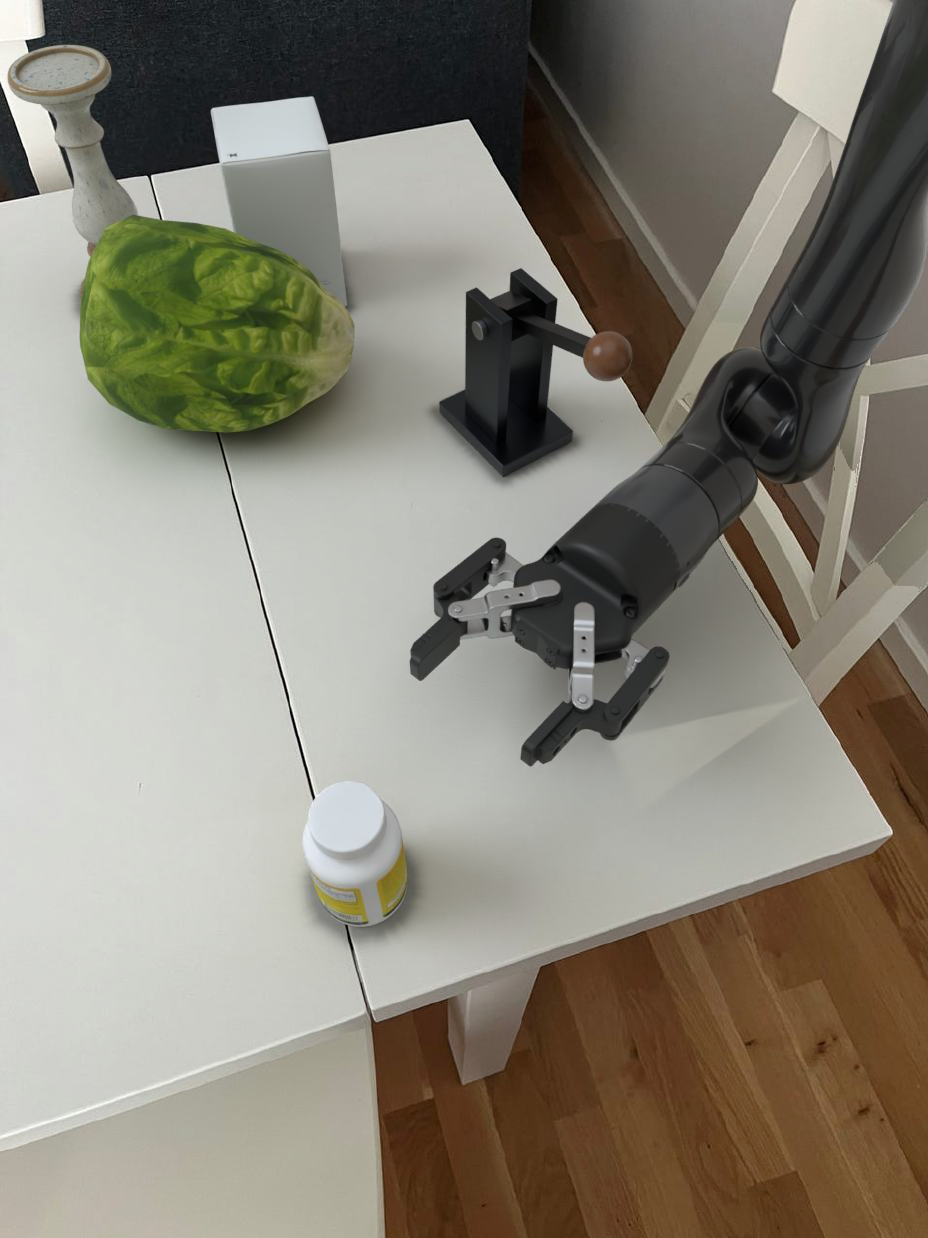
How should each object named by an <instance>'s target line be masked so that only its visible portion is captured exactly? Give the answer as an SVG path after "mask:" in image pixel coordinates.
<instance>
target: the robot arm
mask: <svg viewBox="0 0 928 1238" xmlns="http://www.w3.org/2000/svg"><path fill="white" fill-rule="evenodd" d="M855 109H856V110H855V112H854V115H853V118H852V122H851V124H850V128H849V130H848V134H847V137H846V141H845V144H844V146H843V150H842V153H841V156H840V157H839V158H840V159H839V161H838V165H837V167H836V170H835V173H834V176H833V179H832V182H831V184H830V185H831V186H830V187H829V190H828V193H827V196H826V198H825V199H826V200H824V204H823V205H822V208H821V211H820V213H819V215H818V217H817V220H816V222H815V224H814V226H813V228H812V230H811V232H810V234H809V236H808V238H807V241H806V243H804V246H803V248H802V249H801V252H800V254H799V256H798V257H797V258H796V261H795V262H794V265H793V267H792V268H791V269H790V272H789V273H788V275H787V278H786V279H785V281H784V282H783V285H782V287H781V289H780V290H779V292H778V294H777V295H776V297H775V299H774V301H773V303H772V304H771V306H770V308H769V310H768V312H767V314H766V315H765V317H764V320H763V323H762V325H761V328H760V333H759V346H760V347H758V346H744V347H743V346H742V347H739V348H736V349H733V350H731V351H729V352H727V353H726V354H723V356H721V357H720V358H719V359H718V360H717V361H716V362H715V363H714V365H713V366H712V367H711V369H710V370H709V371H708V373H707V375H706V376H705V378H704V380H703V382H702V384H701V386H700V388H699V389H698V392H697V393H696V396H695V398H694V401H693V403H692V404H691V407H690V409H689V411H688V413H687V415H686V417H685V418H684V420H683V422H682V423H681V425H680V426H679V428H677V430H676V432H674V434H673V435H672V436H671V437H670V439H669V440H668V441H667V442H666V444H664V445H663V446H662V447H661V448H660V449H659V450H658V451H657V452H656V453H654V455H653V456H652V457H650V458H649V460H647V461H646V462H645V463H644V464H643V465H642V466H641V467H640V468H639V469H637V471H636V472H634V473H633V474H632V475H630V476H628V478H626V479H624V480H623V481H621V482H620V483H618V484H617V485H616V486H614V487H613V488H612V489H611V490H610V491H609V492H608V493H606V495H604V496H603V497H602V498H601V499H600V500H599V501H598V502H597V503H596V504H595V505H594V506H593V507H592V508H590V510H589V511H587V512H586V513H585V514H584V515H583V516H582V517H581V518H580V519H579V520H578V521H577V522H576V523H575V524H573V526H571V527H570V528H569V529H568V530H567V531H566V532H565V533H564V534H563V535H562V536H561V537H560V538H558V540H556V541H555V542H554V543H553V544H552V545H551V546H550V547H549V549H547V551H546V552H545V553H544V554H543V555H542V557H540V558H539V559H538V560H535V561H532V562H529V563H526V564H523V563H521V562H520V561H518V560H517V559H516V558H515V557H513V556H512V555H510V553H508V552H507V542H506V541H505V540H504V539H503V538H502V537H492V538H490V539H489V540H488V541H486V542H485V543H484V544H483V545H481V546H480V547H479V548H477V549H476V550H475V551H474V552H472V553H471V554H470V555H469V556H467V557H466V558H465V559H463V560H462V561H461V562H460V563H458V564H457V565H455V566H454V567H453V568H452V569H451V570H449V571H448V572H447V573H446V574H444V575H443V576H442V577H441V578H439V579H438V580H437V581H435V582H434V584H433V587H432V590H433V591H432V593H433V612H434V615H435V616H436V617H438V618H439V619H438V620H436V622H435V623H434V624H433V625H431V626H430V627H429V628H428V629H427V630H426V631H425V632H424V633H423V634H422V635H420V637H418V638H417V639H416V640H415V641H414V642H413V643H412V646H411V648H410V650H409V652H410V658H409V671H410V675H411V676H413V678H414V679H416V680H417V681H419V682H421V681H423V680H426V678H427V677H428V676H429V675H430V674H431V673H432V672H433V671H435V670H436V669H437V667H439V666H440V665H441V664H442V663H443V662H444V661H445V660H446V659H447V658H448V657H449V656H450V655H451V654H452V653H454V651H456V650H457V649H458V648H459V647H460V646H461V641H463V640H468V639H474V638H479V637H487V638H488V639H490V640H491V639H492V640H495V639H501V638H507V637H514V642H515V643H516V644H517V645H519V646H520V647H522V648H523V649H525V650H527V651H529V652H532V653H534V654H536V655H537V656H538V657H539V659H540V660H541V661H542V662H543V663H544V664H545V665H546V666H548V667H549V668H551V669H552V670H554V671H555V670H556V669H557V668H559V669H562V670H563V669H564V670H567V674H568V675H567V696H568V702H566V701H564V700H562V702H560V703H559V704H558V705H557V707H556V708H555V709H553V711H552V712H551V713H550V714H549V715H548V716H547V717H546V718H545V719H544V720H543V721H542V723H541V724H540V725H538V726H537V728H536V729H535V730H534V731H533V732H531V734H530V735H529V736H528V737H527V738H526V739H525V741H524V742H523V744H522V746H521V748H520V749H521V750H520V761H521V762H522V763H524V764H526V765H527V767H529V768H531V767H533V766H534V765H535V764H536V763H537V762H539V763H540V764H541V765H545V764H548V763H549V762H553V760H554V758H555V757H556V756H557V755H558V754H559V753H560V752H561V751H562V750H563V749H564V748H565V747H566V746H567V744H569V742H570V741H571V740H572V739H573V738H574V737H575V736H576V735H577V734H578V733H579V732H581V731H584V730H590V731H592V732H593V731H594V732H595V733H599V735H600V736H601V737H602V738H603V740H606V741H609V742H613V741H615V740H617V739H618V738H619V737H620V736H621V734H622V733H623V732H624V730H625V729H626V728H627V727H628V725H629V724H630V723H631V722H632V720H633V719H634V718H635V716H636V715H637V714H638V713H639V711H640V710H641V709H642V707H643V706H644V705H645V703H647V701H648V700H649V698H650V697H651V696H652V694H653V693H654V692H655V691H656V689H657V688H658V686H659V685H660V684H661V683H662V681H663V678H664V675H665V674H666V669H667V667H668V665H669V664H668V663H669V660H670V651H668V649H667V648H665V647H663V646H659V645H658V646H653V647H652V648H648V647H647V646H645V645H643V644H641V643H640V642H638V641H637V640H635V639H633V635H634V634H635V633H636V632H637V631H638V630H639V629H640V628H641V627H642V626H643V625H644V624H645V623H646V622H647V621H648V620H649V618H650V617H651V616H653V614H654V613H655V612H656V611H657V610H658V609H659V608H660V606H662V605H663V604H664V603H665V602H666V601H667V600H668V598H669V597H671V595H672V594H673V593H674V592H675V591H676V590H677V589H678V588H681V587H682V586H683V585H684V584H685V583H686V581H687V580H688V579H689V578H690V576H691V574H692V573H693V572H694V571H695V570H696V569H697V567H698V566H699V565H700V564H701V562H702V560H703V559H704V558H705V556H706V555H707V553H708V552H709V550H710V549H711V548H712V546H713V545H714V544H715V542H717V541H718V539H719V538H720V537H721V536H723V534H725V532H726V531H727V530H728V529H729V528H730V527H731V526H732V525H733V524H734V523H735V522H736V521H737V520H738V519H739V518H740V517H741V516H742V515H743V513H744V512H745V511H746V510H747V509H748V508H749V507H750V505H751V504H752V502H753V500H754V499H755V497H756V494H757V492H758V489H759V488H758V486H759V476H758V474H760V475H761V476H763V477H764V478H766V479H767V480H769V481H770V482H773V483H775V484H779V485H794V484H798V483H802V482H805V481H806V480H809V479H811V478H812V477H814V476H815V475H816V474H818V472H820V471H821V470H822V469H823V468H824V467H825V466H826V465H827V463H828V462H829V461H830V459H831V458H832V457H833V455H834V453H835V451H836V449H837V448H838V446H839V444H840V441H841V439H842V436H843V435H844V431H845V428H846V425H847V422H848V417H849V413H850V411H851V406H852V402H853V397H854V394H855V391H856V388H857V385H858V382H859V379H860V377H861V375H862V372H863V370H864V368H865V367H866V365H867V364H868V363H869V361H870V359H871V357H872V356H873V354H874V353H875V352H876V350H877V349H878V348H879V346H880V345H881V343H882V342H883V341H884V339H885V338H886V337H887V335H888V333H889V332H890V331H891V329H892V328H893V327H894V325H895V324H896V323H897V321H898V320H899V318H900V317H901V316H902V314H903V313H904V311H905V309H906V308H907V306H908V304H909V303H910V301H911V299H912V298H913V295H914V294H915V291H916V289H917V287H918V286H919V283H920V280H921V277H922V275H923V271H924V269H925V268H924V267H925V264H926V259H927V253H928V0H893V1H892V5H891V8H890V10H889V14H888V16H887V19H886V22H885V25H884V28H883V31H882V34H881V37H880V40H879V43H878V46H877V49H876V51H875V55H874V58H873V61H872V64H871V65H870V69H869V72H868V75H867V78H866V81H865V83H864V87H863V89H862V92H861V95H860V97H859V101H858V103H857V107H856V108H855ZM505 581H509V582H512V583H513V584H512V587H510V588H509V587H508V588H503V589H496V590H491V591H488V592H486V593H485V594H484V595H483V596H482V597H478V598H474V597H476V596H477V595H478V594H479V593H480V592H482V591H483V590H484V589H485V588H486V587H488V586H491V587H497V586H498V585H499V584H501V583H503V582H505ZM509 610H510V615H505V616H502V614H503V613H504V612H506V611H509ZM620 659H624V661H625V662H626V665H625V669H624V676H625V678H626V679H625V681H624V682H623V683H622V685H621V686H620V687H619V688H618V690H617V691H616V692H615V693H614V695H613V696H612V697H611V698H610V700H609V701H608V702H604V701H601V700H598V699H596V698H595V697H594V696H595V695H594V691H595V690H594V689H595V687H594V686H595V685H594V681H595V680H594V679H595V678H594V677H595V676H594V674H595V665H598V664H605V663H608V662H615V661H618V660H620Z"/></svg>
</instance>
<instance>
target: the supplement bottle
mask: <svg viewBox="0 0 928 1238" xmlns="http://www.w3.org/2000/svg"><path fill="white" fill-rule="evenodd" d="M302 832H303V833H302V838H301V840H302V841H301V844H302V852H303V856H304V860H305V863H306V865H307V866H306V867H307V869H308V871H309V874H310V877H311V880H312V882H313V885H314V888H315V891H316V893H317V895H318V898H319V900H320V903H321V904H322V906H323V908H324V910H325V911H326V912H327V913H328V914H329V915H330V917H332V918H333V919H335V920H336V921H337V922H339V923H342V924H343V925H347V926H350V927H355V928H357V927H358V928H364V927H371V926H375V925H378V924H379V923H382V922H383V921H385V920H387V919H388V918H390V917H391V916H393V914H394V913H395V912H396V911H397V910H398V909H399V908H400V907H401V905H402V903H403V902H404V900H405V897H406V894H407V891H408V884H409V874H408V873H409V872H408V867H407V862H406V861H407V860H406V853H405V847H404V841H403V834H402V828H401V824H400V822H399V819H398V817H397V815H396V813H395V812H394V810H393V809H392V808H391V807H390V805H389V804H388V803H386V802H385V801H384V800H382V798H381V796H380V795H379V794H378V792H377V791H376V790H374V789H373V788H372V787H371V786H369V785H367V784H365V783H363V782H360V781H354V780H344V781H337V782H335V783H332V784H330V785H328V786H326V787H325V788H323V789H322V790H321V791H320V792H319V793H318V794H317V795H316V796H315V798H314V799H313V801H312V802H311V805H310V806H309V810H308V814H307V821H306V823H305V826H304V828H303V831H302Z"/></svg>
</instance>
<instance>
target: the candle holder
mask: <svg viewBox="0 0 928 1238" xmlns="http://www.w3.org/2000/svg"><path fill="white" fill-rule="evenodd" d="M112 75H113V70H112V67H111V63H110V62H109V60H108V59H107V57H106V56H105V55H104V54H103V53H102V52H100V51H98V50H97V49H95V48H93V47H89V46H85V45H77V44H58V45H50V46H46V47H42V48H37V49H35V50H31V51H30V52H27V53H25V54H24V55H21V56H19V58H17V59H15V60H14V62H12V63H11V65H10V67H8V71H7V84H8V87H9V90H10V91H11V92H12V93H13V95H14V96H15V97H17V98H19V99H20V100H22V101H25V102H27V103H32V104H35V105H40V107H41V108H43V109H44V110H45V111H47V112H49V113H50V114H51V115H52V116H53V117H54V119H55V120H56V128H55V132H54V135H53V136H54V141H55V143H56V144H57V145H58V146H60V147H62V148H63V149H64V150H65V152H66V154H67V158H68V162H69V165H70V168H71V172H72V176H73V177H72V178H73V193H72V198H71V199H72V200H71V218H72V223H73V226H74V228H75V230H76V231H77V233H78V234H79V235H80V236H81V237H82V238H83V239H84V240H85V241H87V242H88V243H87V246H86V251H87V252H86V253H87V254H88V257H89V258H90V257H91V255H92V253H93V251H94V249H95V247H96V246H97V244H98V242H99V240H100V238H101V236H102V234H103V232H104V230H105V228H106V227H108V226H110V225H112V224H114V223H117V222H119V221H121V220H123V219H125V218H127V217H129V216H131V215H137V216H139V211H138V207H137V206H136V203H135V202H134V200H133V198H132V197H131V195H130V193H128V191H126V189H125V188H124V187H123V186H122V185H121V184H120V183H119V181H118V180H117V179H116V177H115V176H114V174H113V173H112V171H111V169H110V167H109V165H108V162H107V160H106V157H105V154H104V151H103V148H102V143H101V140H102V139H103V138H104V135H105V130H104V128H103V127H102V125H100V124H99V123H98V122H97V121H96V120H95V119H94V118H93V116H92V114H91V106H92V104H93V103H94V101H95V98H96V94H98V93H99V92H101V91H103V90H104V89H105V88H106V87H108V85H109V83H110V82H111V80H112ZM84 281H85V278H84V279H83V280H82V281H81V284H80V286H79V289H78V296H79V300H80V301H81V297H82V292H83V286H84Z"/></svg>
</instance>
